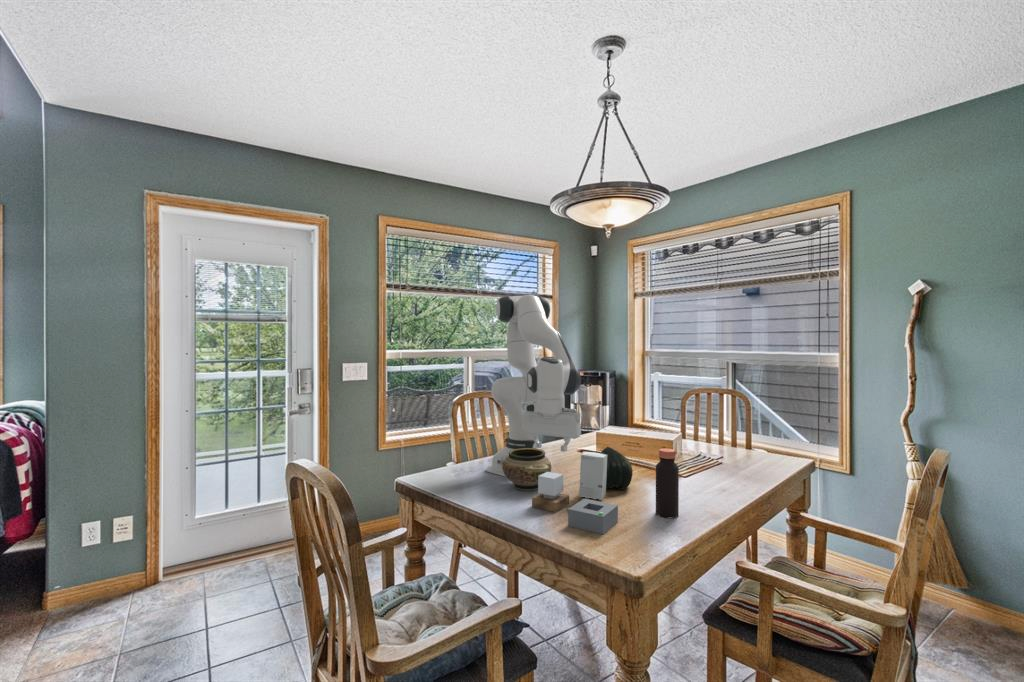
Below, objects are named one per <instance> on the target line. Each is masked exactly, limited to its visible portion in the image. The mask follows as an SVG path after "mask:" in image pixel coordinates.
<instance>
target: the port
mask: <svg viewBox="0 0 1024 682" xmlns="http://www.w3.org/2000/svg"><path fill="white" fill-rule="evenodd" d="M618 522H619V504H614V503H608V502H605V501H604V502H603V501H600V500H595V499H589V498H582V499H581V500H580V501H578V502H577V503H575V504H573V505H572V506H571V507H569V508H568V509H567V527H570V528H573V529H580V530H583V531H587V532H591V533H595V534H599V535H600V534H601V535H605V533H607V532H609V531H610V530H611V529H612V528H613V527H614V526H615V525H616V524H617V523H618Z"/></svg>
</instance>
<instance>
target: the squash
mask: <svg viewBox="0 0 1024 682" xmlns="http://www.w3.org/2000/svg"><path fill="white" fill-rule="evenodd" d="M599 453H600V454H607V475H606V488H608V489H613V488H617V489H618V488H619V490H625V489H627V488H628V487H629V486H630V484H631V481H632V479H633V473H634V472H633V471H634V469H633V467H632V464H631V462H630V461H629V459H628V458H627V457H626V456H625V455H624V454H622V453H621V452H619V451H617V450H615V449H614V448H612V447H610V446H606V447H605V448H603V449H602V450H601V451H600V452H599Z"/></svg>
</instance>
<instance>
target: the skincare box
mask: <svg viewBox="0 0 1024 682" xmlns="http://www.w3.org/2000/svg"><path fill="white" fill-rule="evenodd" d="M600 453H601V452H594V451H593V452H592V451H584V452H583V453H581V454H580V469H579V470H580V471H579V475H580V476H579V492H578V494H579V495H578V497H579V498H581V497H585V498H584V499H589V498H593V499H592V500H596V499H599V500H598V501H603V500H604V498H605V497H606V496H607V492H606V491H607V489H606V475H607V454H600ZM605 495H606V496H605Z"/></svg>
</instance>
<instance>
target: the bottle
mask: <svg viewBox="0 0 1024 682" xmlns="http://www.w3.org/2000/svg"><path fill="white" fill-rule="evenodd" d="M676 453H677V452H676V450H675V449H673V448H663V447H662V448H660V449H659V450H658V458H659V462H657V464H656V465H655V514H656V515H657V516H659V515H660V516H659V517H662V516H663V517H662V518H667V517H673V518H677V517H678V516H679V511H680V510H679V507H680V506H679V500H680V498H679V497H680V496H679V495H680V493H679V490H680V489H679V488H680V487H679V486H680V485H679V482H680V481H679V480H680V479H679V477H680V475H679V473H680V472H679V469H680V468H679V465H677V463H676V461H675V460H676V457H677V456H676ZM676 516H677V517H676Z"/></svg>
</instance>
